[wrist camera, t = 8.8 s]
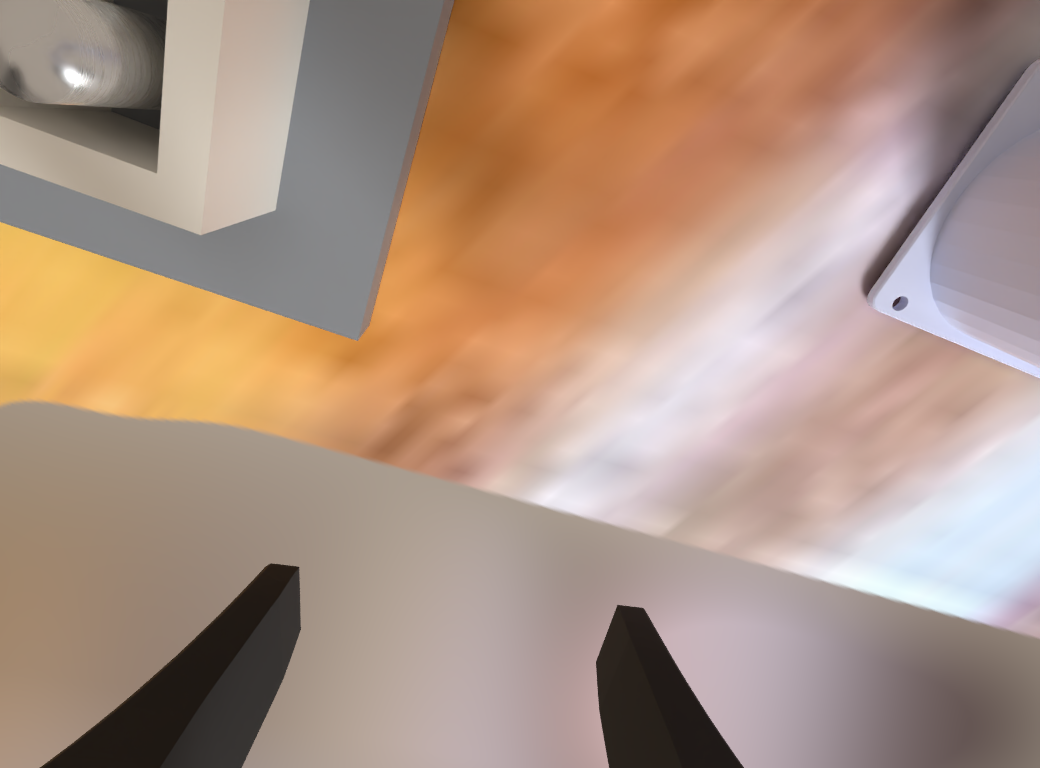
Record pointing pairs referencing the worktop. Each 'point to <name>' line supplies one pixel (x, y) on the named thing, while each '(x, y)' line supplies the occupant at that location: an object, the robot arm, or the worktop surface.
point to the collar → (181, 121)
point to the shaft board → (307, 161)
